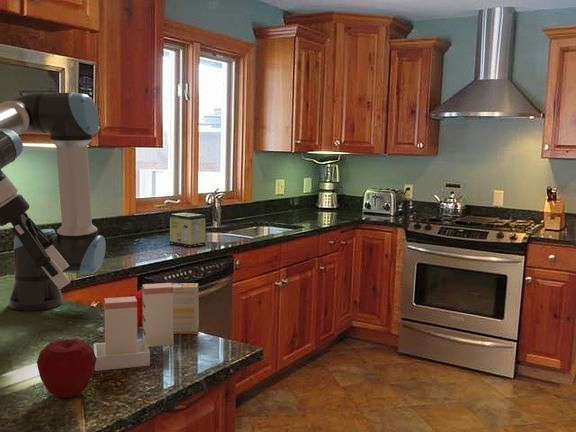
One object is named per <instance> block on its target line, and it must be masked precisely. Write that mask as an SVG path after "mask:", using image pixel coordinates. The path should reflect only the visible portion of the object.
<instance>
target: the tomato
mask: <svg viewBox="0 0 576 432" xmlns="http://www.w3.org/2000/svg"><path fill="white" fill-rule="evenodd" d="M134 296H135V297H136V300H137V327H138V326H139V327H143V317H142V313H143V304H142V300H143V290H142V286H140V289H139V290H137V291H133V292H131V293H129V295H128V296H127V297H134Z"/></svg>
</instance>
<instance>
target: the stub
mask: <svg viewBox="0 0 576 432" xmlns="http://www.w3.org/2000/svg"><path fill="white" fill-rule="evenodd" d="M103 303H104V305H103V307H104V343H105V356H108V355H119V354H129V353H137V340H138V325H137V300H136V297H135V296H134V297H128V296H121V297H107V298H105V297H104V300H103Z"/></svg>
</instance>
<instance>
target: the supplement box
mask: <svg viewBox="0 0 576 432" xmlns="http://www.w3.org/2000/svg"><path fill="white" fill-rule="evenodd" d="M170 283H171V284H172V286H173V335H197V334H198V331H199V325H200V323H199V322H200V321H199V320H200V319H199V318H200V317H199V316H200V315H199V311H200V309H199V304H200V303H199V283H198V282H197V283H196V282H195V283H194V282H193V283H192V282H191V283H190V282H189V283H186V282H184V283H182V282H181V283H180V282H179V283H178V282H170ZM196 333H197V334H196Z"/></svg>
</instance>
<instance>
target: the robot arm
mask: <svg viewBox="0 0 576 432" xmlns="http://www.w3.org/2000/svg"><path fill="white" fill-rule="evenodd" d="M99 119H100V117H99V112H98V108H97V105H96V104H95V102H94V100H93V99H92V97H91V96H89V95H88V94H87V93H86V94H85V93H78V92H73V91H72V92H42V91H41V92H39V91H38V92H31V93H25V94H22V95H20V96H16V97H14V98H10V99H8V100H6V101H3V102H1V103H0V227H4V226H6V225H7V224H10V223H11V226H12V228H11V231H12V233H14V235H15V236H14V238H13V248H12V250H13V258H14V259H13V260H14V261H13V262H14V284H13V287H12V290H11V294H10V297H9V300H8V301H9V303H8V304H9V308H10V309H12V310H14V311H15V310H16V311H20V312H21V311H22V312H23V311H24V312H28V311H30V312H31V311H42V310H49V309H54V308H55V307H59V306H61V305H62V304H63V294H62V291H61V290H62V288H64V287H66V286H67V285H68V284H70V283H71V280H70V279H69V277H68V276H66V274H67V273H68V274H81V275H83V274H94V273H96V272H98V271H99V269H100V268H101V267H102V264H103V262H104V259H105V254H106V246H107V245H106V242H107V241H106V240H105V239H106V238H105V237H104V236H103V235H101V234H99V232H98V227H96V226H95V225H94V224H93V220H92V204H91V202H92V201H91V185H90V169H89V167H90V165H89V150H88V145H89V144H90V143H91V142H92V141H93V135H95V134H97V133H98V131H99V125H100V120H99ZM24 133H38V134H40V133H41V134H49V139H50V140H49V141H50V142H51V143H53V144H54V146H55V148H56V160H57V174H58V175H57V176H58V177H57V178H58V188H59V189H58V190H59V203H60V215H61V216H60V217H61V226H60V227H59V228H58V229H57V231H56V230H55V229H54V228H45V229H44V228H43V229H41V228H40V227H39V226H38V225H37V224H36V223H35V222H34V221H33V220H32V218H30V216H29V215H28V214H27V212H28V210H29V209H30V204H29V203H28V201H27V200H26V199H25V198H24V197H23V195H22V194H19V193H18V191H19V190H18V188H17V187H16V186H15V185H14V183H13V182H12V181H11V179H9V177H8V176H7V175H6V174H5V173H4V172H3V170H2V169H3V168H5V167H7V166H8V165H9V164H11V163H13V162H15V161H16V159H17V158H18V157H19V156H20V155H21V154H22V153H23V148H24V145H23V141H22V138H21V137H20V136H19V135H23V134H24ZM65 273H66V274H65Z"/></svg>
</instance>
